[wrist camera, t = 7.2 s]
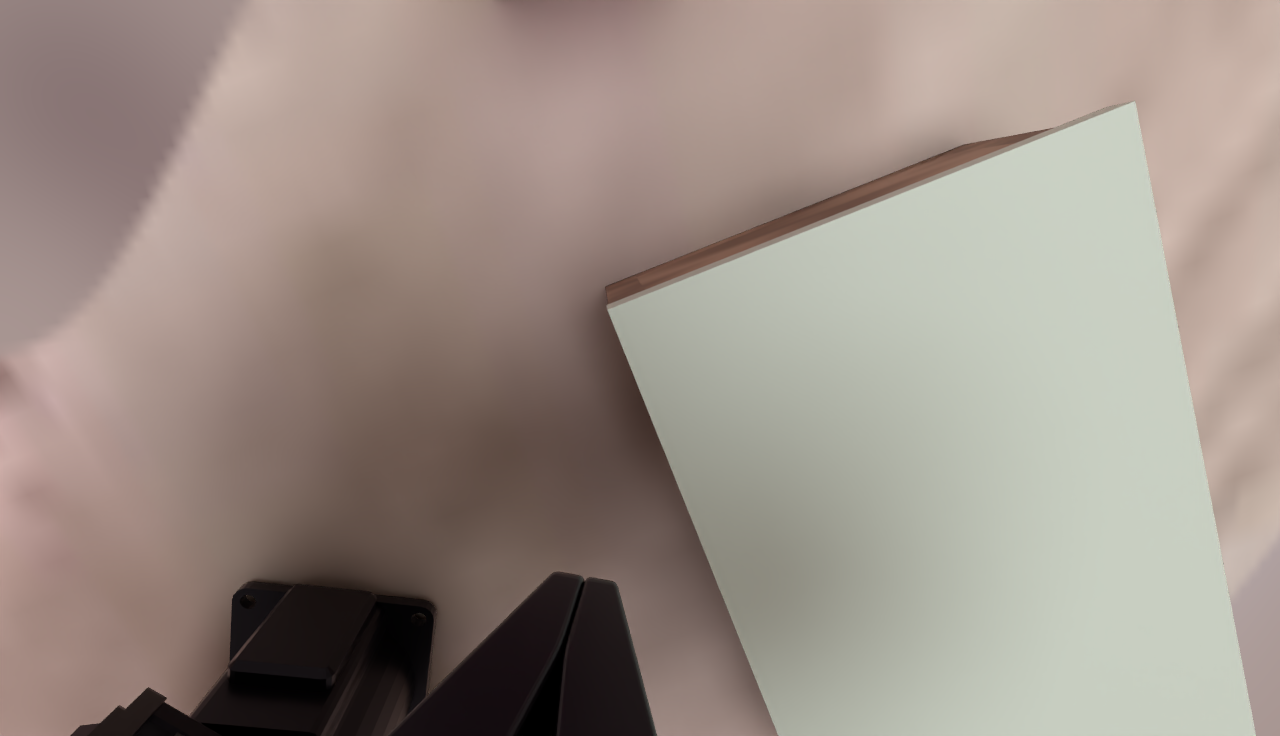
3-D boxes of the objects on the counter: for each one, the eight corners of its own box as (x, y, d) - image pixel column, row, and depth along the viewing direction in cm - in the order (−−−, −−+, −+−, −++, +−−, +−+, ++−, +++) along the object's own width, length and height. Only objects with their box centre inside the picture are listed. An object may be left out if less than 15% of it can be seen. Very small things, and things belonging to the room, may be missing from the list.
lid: (840, 887, 20) (850, 914, 19) (606, 305, 15) (607, 310, 15) (1233, 737, 20) (1260, 759, 19) (1107, 107, 15) (1135, 100, 14)
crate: (783, 732, 25) (837, 880, 20) (605, 286, 21) (609, 312, 16) (1084, 618, 25) (1226, 735, 19) (964, 144, 21) (1100, 119, 15)
